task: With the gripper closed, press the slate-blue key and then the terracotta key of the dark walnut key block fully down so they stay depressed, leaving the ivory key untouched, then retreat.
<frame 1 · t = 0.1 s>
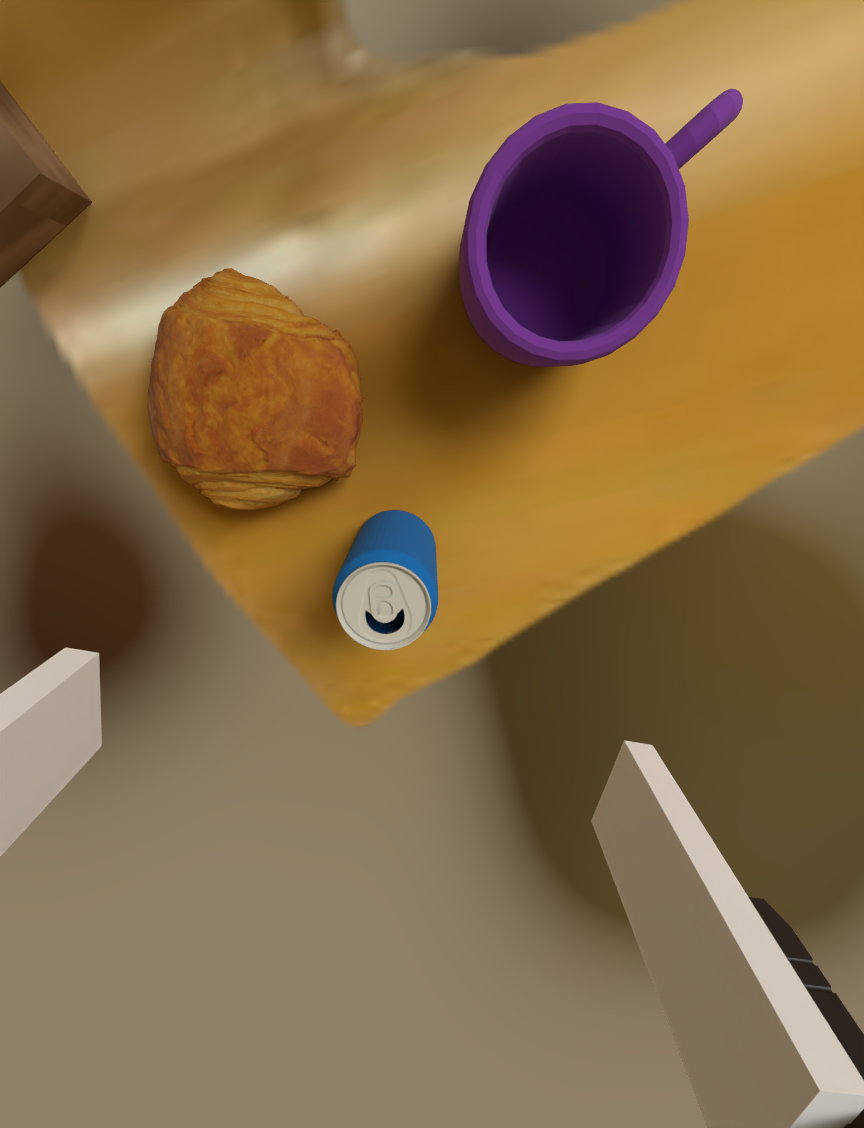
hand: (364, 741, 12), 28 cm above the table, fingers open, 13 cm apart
beverage can: (396, 545, 40), on the table
mug: (570, 251, 33), on the table
pastry: (273, 404, 36), on the table
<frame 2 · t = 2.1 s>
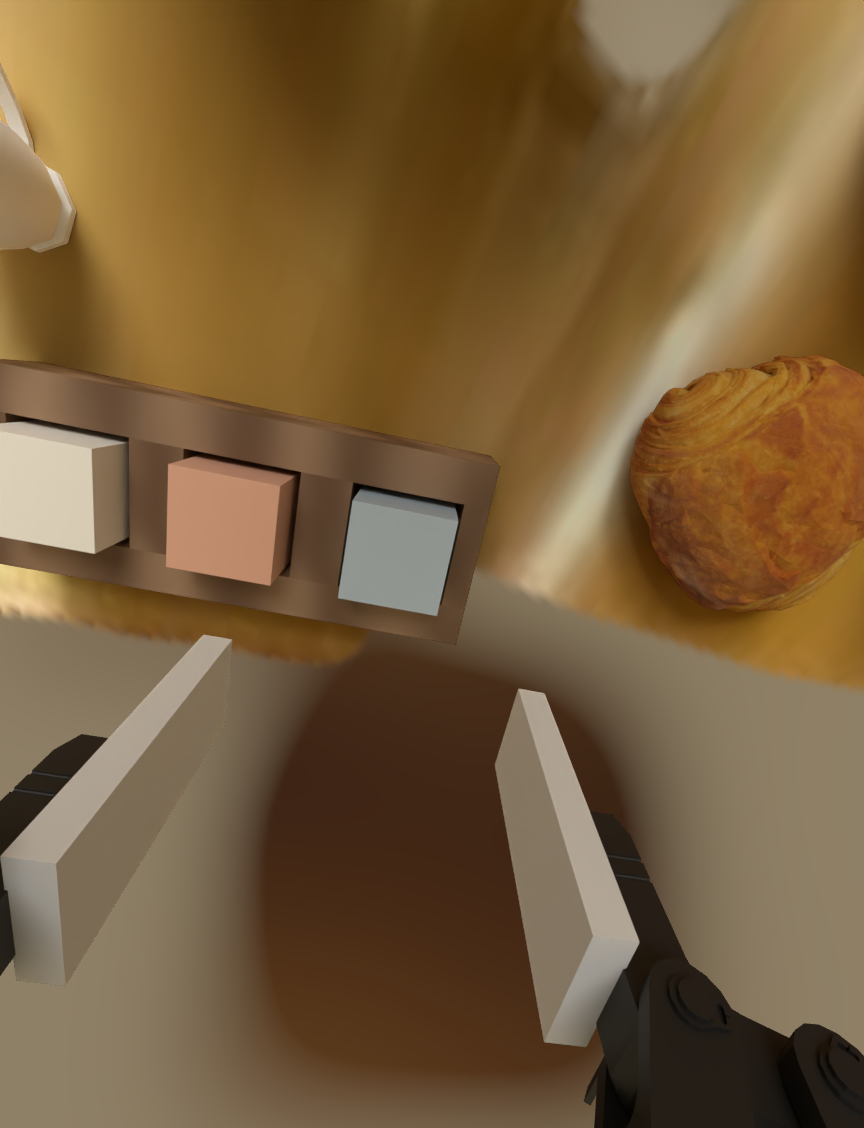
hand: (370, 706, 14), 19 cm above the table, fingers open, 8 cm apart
terracotta key: (237, 516, 27), point 5 cm above the table, slide at 0.0 cm
key block: (264, 498, 31), on the table
slate key: (398, 547, 27), point 5 cm above the table, slide at 0.0 cm
cup: (32, 173, 25), on the table
ivory key: (67, 484, 26), point 5 cm above the table, slide at 0.0 cm
pastry: (737, 479, 31), on the table
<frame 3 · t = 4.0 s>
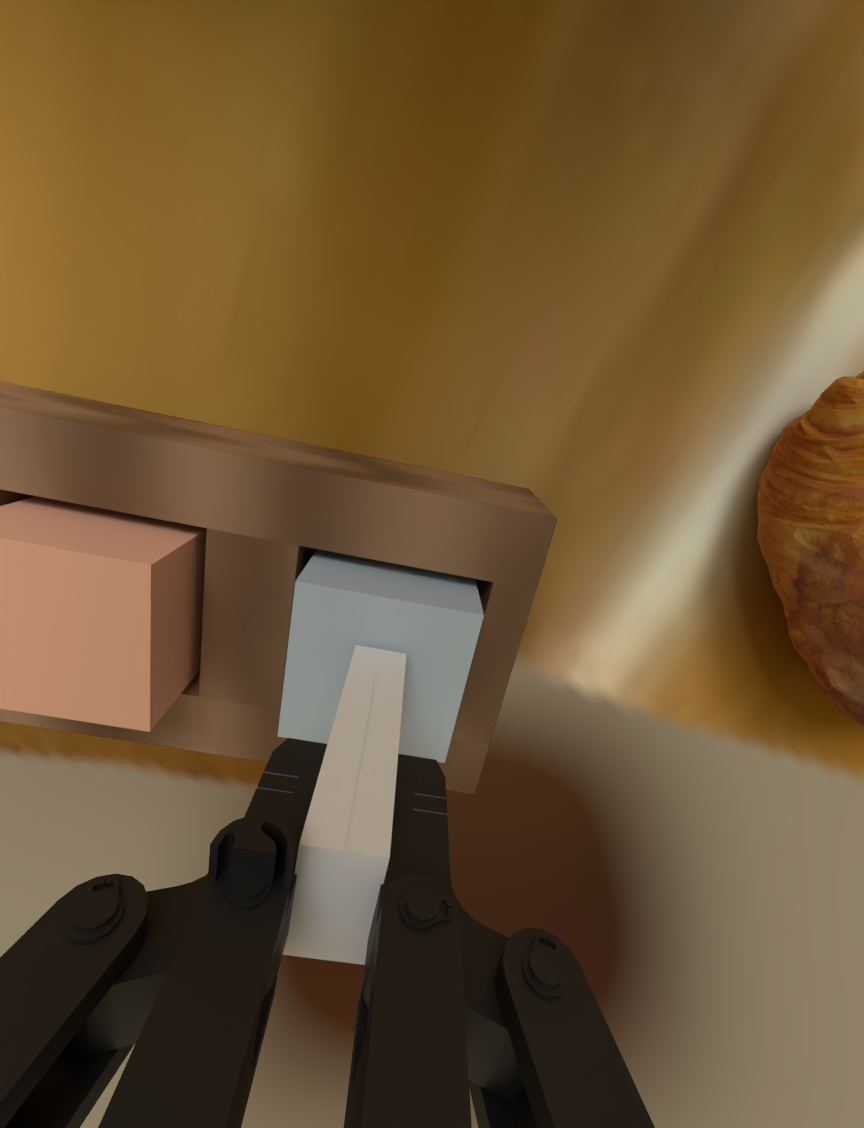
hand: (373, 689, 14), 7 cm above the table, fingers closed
terracotta key: (100, 603, 15), point 5 cm above the table, slide at 0.0 cm
key block: (173, 555, 20), on the table
slate key: (382, 642, 17), point 4 cm above the table, slide at 0.7 cm, touching gripper
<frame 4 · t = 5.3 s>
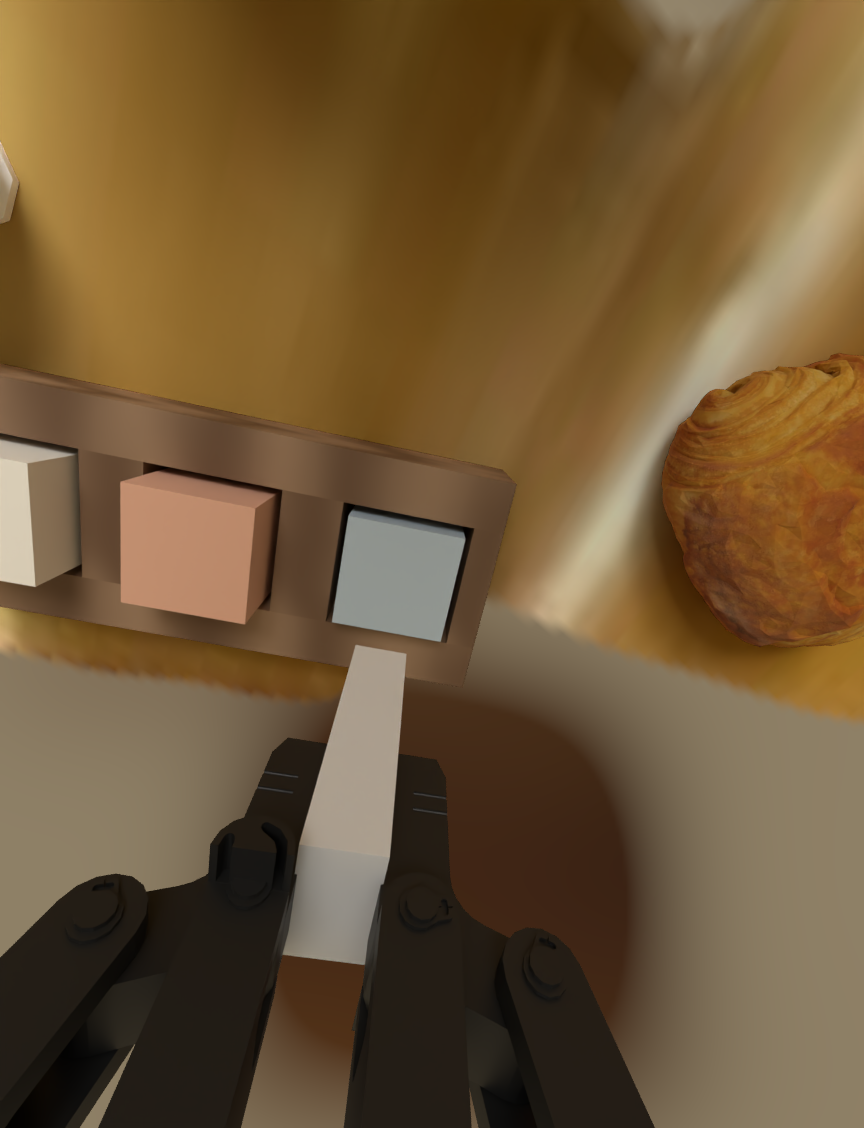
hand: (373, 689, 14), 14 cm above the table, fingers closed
terracotta key: (207, 541, 23), point 5 cm above the table, slide at 0.0 cm
key block: (243, 517, 27), on the table
slate key: (399, 566, 25), point 3 cm above the table, slide at 1.7 cm
ivory key: (6, 503, 22), point 5 cm above the table, slide at 0.0 cm
pastry: (781, 495, 27), on the table
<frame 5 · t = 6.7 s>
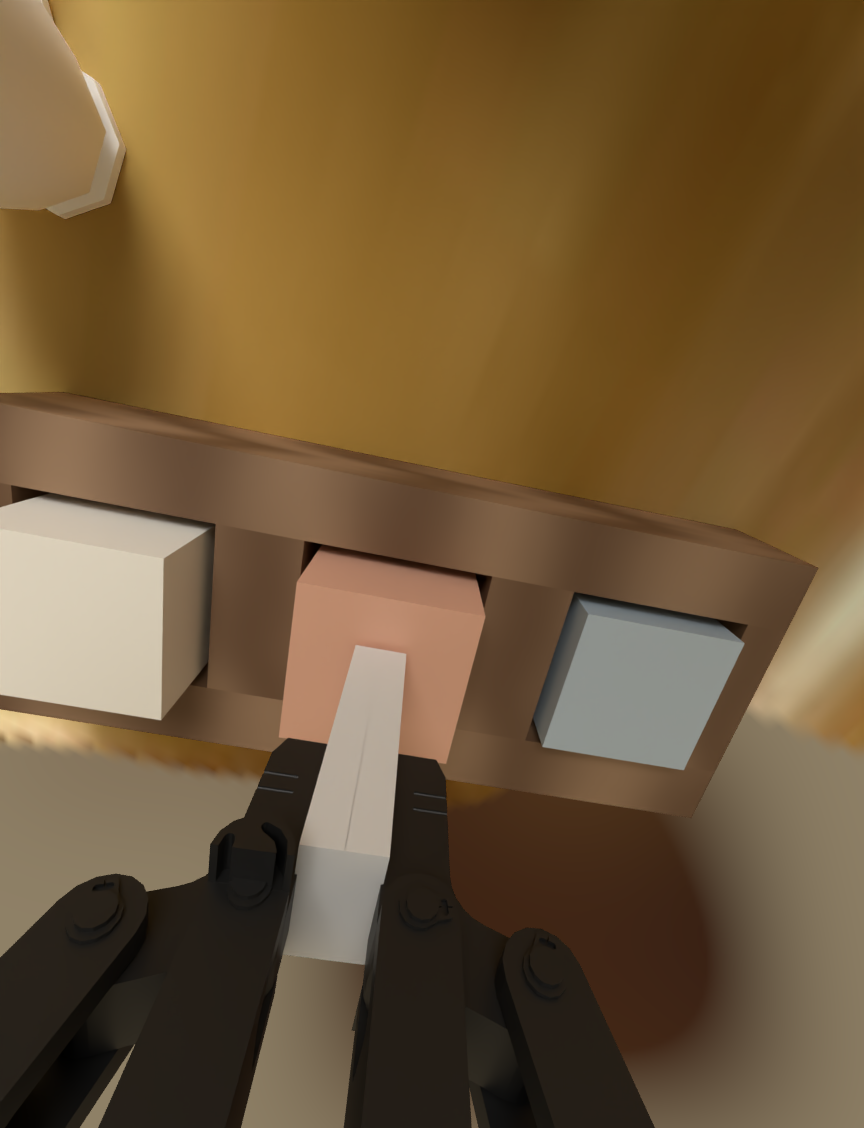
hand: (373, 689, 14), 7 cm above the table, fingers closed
terracotta key: (383, 643, 17), point 5 cm above the table, slide at 0.1 cm, touching gripper
key block: (393, 590, 21), on the table
slate key: (616, 663, 19), point 3 cm above the table, slide at 1.7 cm
cup: (54, 83, 15), on the table
ivory key: (113, 596, 16), point 5 cm above the table, slide at 0.0 cm
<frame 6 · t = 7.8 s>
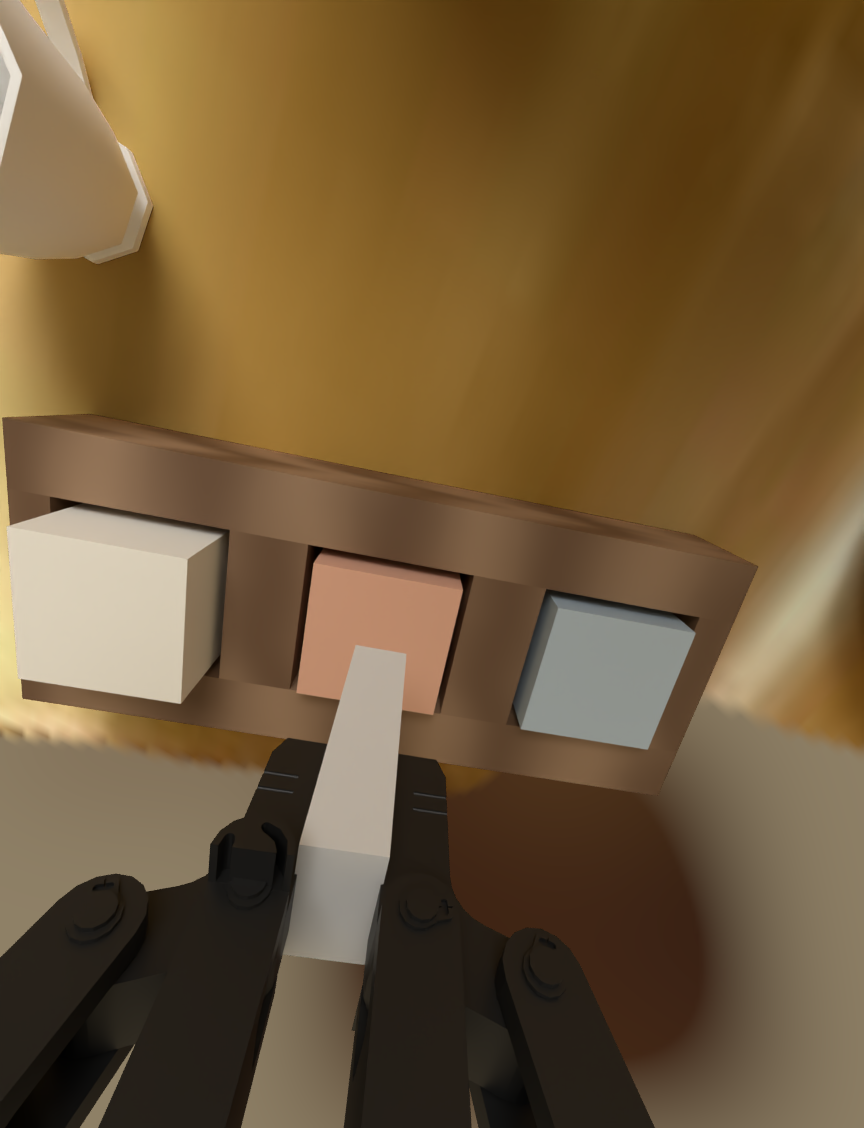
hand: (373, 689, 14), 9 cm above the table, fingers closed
terracotta key: (381, 618, 20), point 3 cm above the table, slide at 1.7 cm
key block: (386, 591, 23), on the table
slate key: (587, 654, 21), point 3 cm above the table, slide at 1.7 cm
cup: (91, 150, 18), on the table
ivory key: (137, 595, 18), point 5 cm above the table, slide at 0.0 cm
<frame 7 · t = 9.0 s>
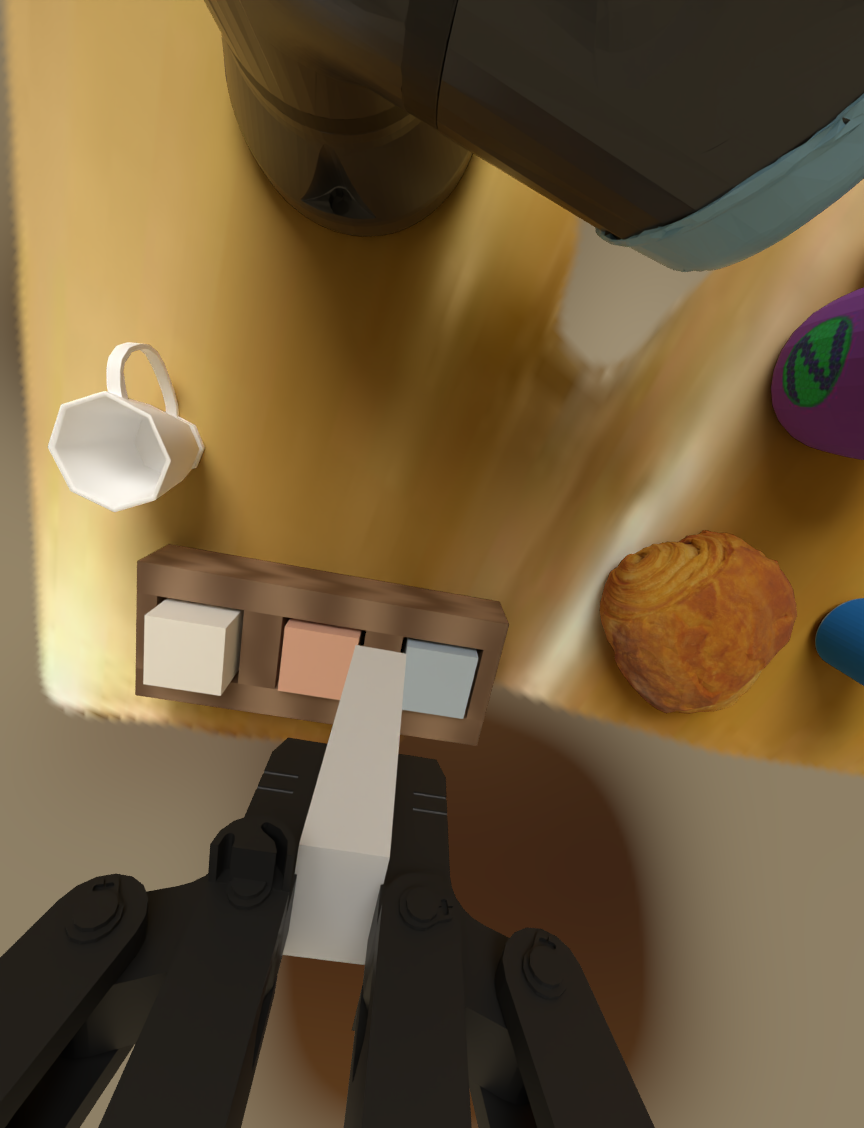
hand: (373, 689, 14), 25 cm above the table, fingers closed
terracotta key: (323, 651, 38), point 3 cm above the table, slide at 1.7 cm
key block: (329, 634, 41), on the table
slate key: (435, 669, 39), point 3 cm above the table, slide at 1.7 cm
beverage can: (843, 628, 42), on the table
mug: (843, 332, 35), on the table
cup: (175, 423, 36), on the table
ivory key: (197, 642, 36), point 5 cm above the table, slide at 0.0 cm
pastry: (680, 610, 42), on the table
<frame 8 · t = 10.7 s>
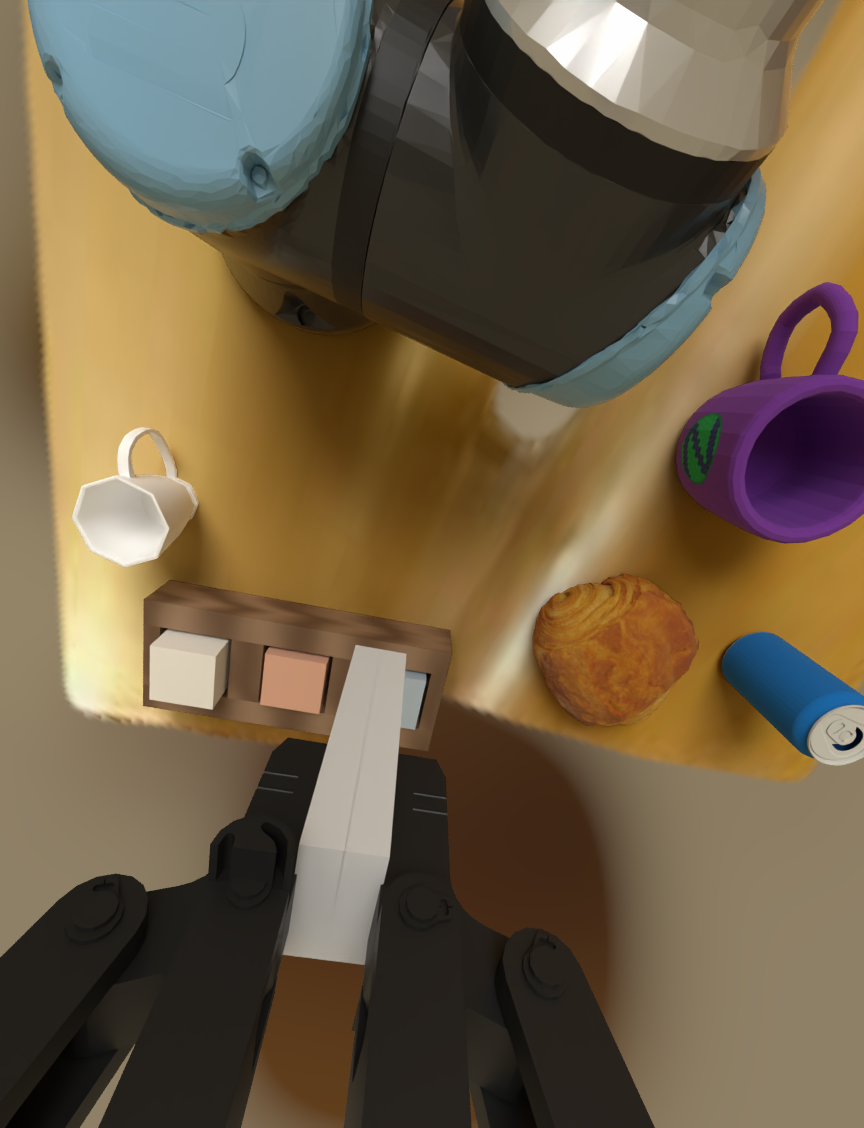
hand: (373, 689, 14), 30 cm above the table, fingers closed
terracotta key: (298, 671, 46), point 3 cm above the table, slide at 1.7 cm
key block: (306, 654, 49), on the table
slate key: (393, 687, 46), point 3 cm above the table, slide at 1.7 cm
beverage can: (748, 655, 49), on the table
mug: (738, 412, 41), on the table
cup: (174, 482, 43), on the table
ivory key: (193, 664, 43), point 5 cm above the table, slide at 0.0 cm
pastry: (606, 638, 49), on the table
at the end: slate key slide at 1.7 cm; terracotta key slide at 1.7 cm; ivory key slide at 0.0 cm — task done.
